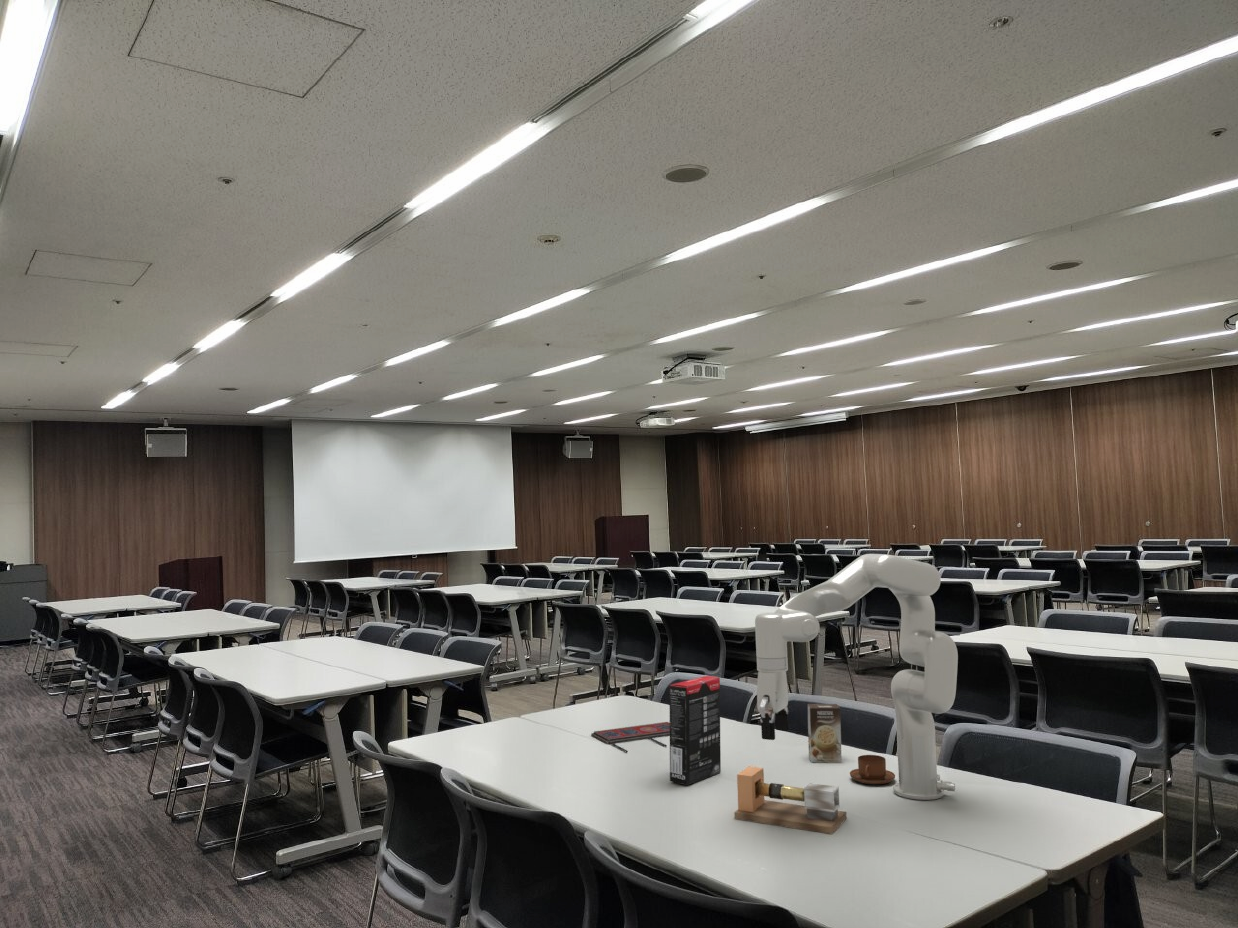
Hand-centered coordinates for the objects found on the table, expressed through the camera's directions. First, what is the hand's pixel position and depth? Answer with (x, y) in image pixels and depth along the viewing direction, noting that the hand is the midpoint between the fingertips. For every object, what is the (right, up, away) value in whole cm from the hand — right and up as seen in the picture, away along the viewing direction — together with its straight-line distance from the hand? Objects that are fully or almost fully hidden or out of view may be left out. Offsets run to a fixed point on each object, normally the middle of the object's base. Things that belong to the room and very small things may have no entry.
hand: (775, 734), depth 213 cm
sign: (-29, -27, +79) cm, 88 cm away
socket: (-6, -18, +2) cm, 19 cm away
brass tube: (+1, -15, -2) cm, 15 cm away
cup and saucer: (+31, -21, +26) cm, 46 cm away
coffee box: (+24, -23, +47) cm, 57 cm away
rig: (+3, -19, -3) cm, 20 cm away
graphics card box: (-16, -23, +32) cm, 43 cm away
